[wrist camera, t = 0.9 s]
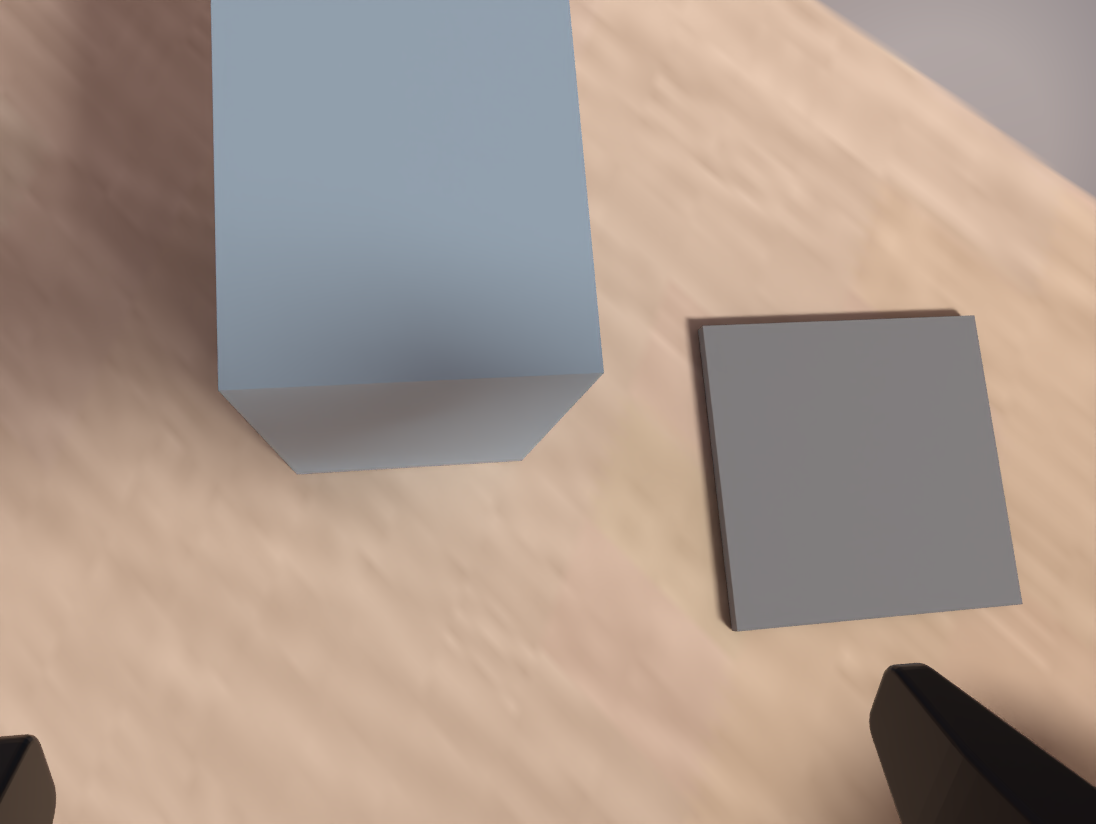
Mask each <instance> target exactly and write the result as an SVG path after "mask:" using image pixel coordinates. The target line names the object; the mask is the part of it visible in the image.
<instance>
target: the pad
mask: <svg viewBox="0 0 1096 824" xmlns="http://www.w3.org/2000/svg"><path fill="white" fill-rule="evenodd" d="M698 333H699V342H700V351H701V359H702V368H703V377H704V386H705V395H706V404H707V413H708V422H709V431H710V439H711V448H712V457H713V466H714V475H715V484H716V493H717V502H718V510H719V519H720V528H721V537H722V546H723V555H724V564H725V573H726V581H727V590H728V599H729V608H730V617H731V626H732V631H746V630H756V629H767V628H777V627H788V626H798V625H809V624H819V623H830V622H840V621H851V620H861V619H872V618H882V617H893V616H903V615H913V614H924V613H934V612H945V611H955V610H966V609H976V608H987V607H997V606H1008V605H1018V604H1022V598H1021V592H1020V586H1019V580H1018V574H1017V568H1016V562H1015V556H1014V550H1013V544H1012V538H1011V532H1010V526H1009V520H1008V514H1007V508H1006V502H1005V496H1004V490H1003V484H1002V478H1001V472H1000V466H999V460H998V454H997V448H996V442H995V436H994V431H993V425H992V419H991V413H990V407H989V401H988V395H987V389H986V383H985V377H984V371H983V365H982V359H981V353H980V347H979V341H978V335H977V329H976V323H975V317H974V316H948V317H922V318H895V319H869V320H843V321H817V322H790V323H764V324H738V325H712V326H702V327H701V328H700V329H699V330H698Z"/></svg>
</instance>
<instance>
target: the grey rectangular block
mask: <svg viewBox="0 0 1096 824" xmlns="http://www.w3.org/2000/svg"><path fill="white" fill-rule="evenodd" d="M211 35H212V87H213V140H214V193H215V245H216V298H217V351H218V391H219V392H220V393H221V394H222V395H223V396H224V397H225V398H226V399H227V400H228V401H229V402H230V404H231V405H232V406H233V407H234V408H235V409H236V410H237V411H238V412H239V413H240V414H241V415H242V416H243V417H244V418H245V419H246V421H247V422H248V423H249V424H250V425H251V426H252V427H253V428H254V429H255V430H256V431H257V432H258V433H259V434H260V435H261V436H262V438H263V439H264V440H265V441H266V442H267V443H268V444H269V445H270V446H271V447H272V448H273V449H274V450H275V451H276V452H277V454H278V455H279V456H280V457H281V458H282V459H283V460H284V461H285V462H286V463H287V464H288V465H289V466H290V467H291V468H292V469H293V471H294V472H295V473H296V474H310V473H326V472H343V471H359V470H376V469H392V468H408V467H425V466H441V465H457V464H474V463H490V462H507V461H522V460H523V459H524V457H525V456H526V455H527V454H528V453H529V452H530V451H531V450H532V449H533V448H534V447H535V446H536V445H537V444H538V443H539V441H540V440H541V439H542V438H543V437H544V436H545V435H546V434H547V433H548V432H549V431H550V430H551V429H552V428H553V427H554V425H555V424H556V423H557V422H558V421H559V420H560V419H561V418H562V417H563V416H564V415H565V414H566V413H567V412H568V410H569V409H570V408H571V407H572V406H573V405H574V404H575V403H576V402H577V401H578V400H579V399H580V398H581V397H582V396H583V394H584V393H585V392H586V391H587V390H588V389H589V388H590V387H591V386H592V385H593V384H594V383H595V382H596V381H597V380H598V378H599V377H600V376H601V375H602V374H603V373H604V370H603V359H602V348H601V338H600V327H599V316H598V306H597V295H596V284H595V274H594V263H593V252H592V241H591V231H590V220H589V209H588V199H587V188H586V177H585V167H584V156H583V145H582V134H581V124H580V113H579V102H578V92H577V81H576V70H575V60H574V49H573V38H572V27H571V17H570V6H569V0H211Z"/></svg>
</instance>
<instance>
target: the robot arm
mask: <svg viewBox="0 0 1096 824" xmlns="http://www.w3.org/2000/svg"><path fill="white" fill-rule="evenodd" d="M869 724H870V731H871V735H872V738H873V741H874V744H875V747H876V750H877V753H878V756H879V759H880V762H881V765H882V768H883V771H884V774H885V777H886V780H887V783H888V786H889V789H890V791H891V794H892V797H893V800H894V803H895V806H896V809H897V812H898V815H899V818H900V821H901V824H1096V787H1094V786H1093V785H1092V784H1090V783H1089V782H1087V781H1086V780H1085V779H1083V778H1082V777H1081V776H1079V775H1078V774H1077V773H1075V772H1074V771H1072V770H1071V769H1070V768H1068V767H1067V766H1066V765H1064V764H1063V763H1061V762H1060V761H1059V760H1057V759H1056V758H1055V757H1053V756H1052V755H1050V754H1049V753H1048V752H1046V751H1045V750H1044V749H1042V748H1041V747H1039V746H1038V745H1037V744H1035V743H1034V742H1033V741H1031V740H1030V739H1028V738H1027V737H1026V736H1024V735H1023V734H1022V733H1020V732H1019V731H1017V730H1016V729H1015V728H1013V727H1012V726H1011V725H1009V724H1008V723H1006V722H1005V721H1004V720H1002V719H1001V718H1000V717H998V716H997V715H995V714H994V713H993V712H991V711H990V710H989V709H987V708H986V707H985V706H983V705H982V704H980V703H979V702H978V701H976V700H975V699H974V698H972V697H971V696H969V695H968V694H967V693H965V692H964V691H963V690H961V689H960V688H958V687H957V686H956V685H954V684H953V683H952V682H950V681H949V680H947V679H946V678H945V677H943V676H942V675H941V674H939V673H938V672H936V671H935V670H934V669H932V668H931V667H929V666H927V665H925V664H922V663H909V664H897V665H892V666H890V667H888V668H887V669H886V670H885V672H884V674H883V677H882V680H881V683H880V685H879V688H878V691H877V694H876V697H875V700H874V703H873V705H872V708H871V711H870V718H869ZM55 807H56V791H55V785H54V782H53V779H52V776H51V773H50V770H49V767H48V764H47V762H46V759H45V756H44V753H43V750H42V747H41V744H40V742H39V740H38V739H37V738H36V737H35V736H33V735H28V734H26V735H14V736H1V737H0V824H53V819H54V814H55Z"/></svg>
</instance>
